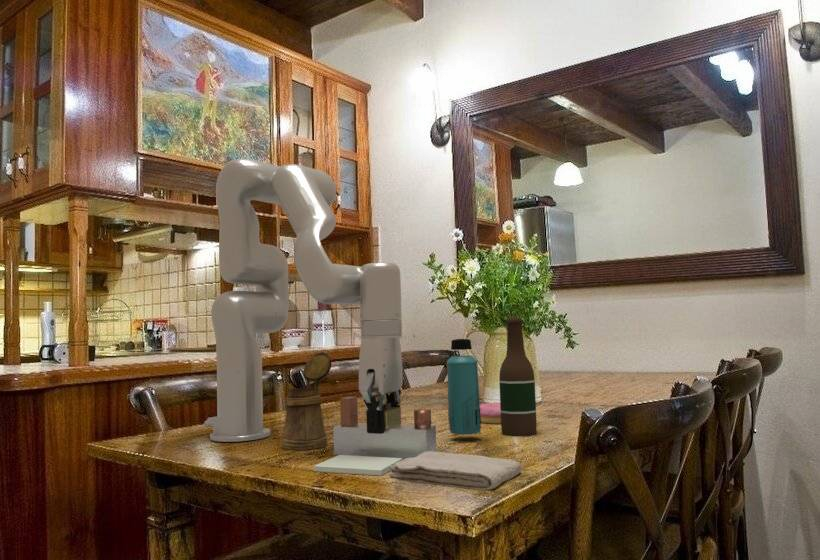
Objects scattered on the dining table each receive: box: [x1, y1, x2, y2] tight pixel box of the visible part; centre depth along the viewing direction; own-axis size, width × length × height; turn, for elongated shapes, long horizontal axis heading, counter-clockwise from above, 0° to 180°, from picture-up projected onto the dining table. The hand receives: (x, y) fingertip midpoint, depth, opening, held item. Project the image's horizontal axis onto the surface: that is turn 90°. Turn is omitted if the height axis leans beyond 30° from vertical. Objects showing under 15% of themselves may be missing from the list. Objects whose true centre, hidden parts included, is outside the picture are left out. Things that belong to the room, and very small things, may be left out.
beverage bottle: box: [446, 338, 482, 435], centre depth 127 cm, size 6×7×20 cm
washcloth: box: [388, 451, 522, 491], centre depth 96 cm, size 12×18×3 cm, turn 59°
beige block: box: [365, 402, 402, 429], centre depth 114 cm, size 4×6×4 cm, turn 158°
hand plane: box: [332, 396, 437, 459], centre depth 114 cm, size 18×5×10 cm, turn 68°
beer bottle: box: [499, 316, 538, 437], centre depth 132 cm, size 8×8×24 cm
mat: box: [312, 455, 404, 476], centre depth 104 cm, size 12×9×1 cm
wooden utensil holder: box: [281, 351, 333, 451], centre depth 127 cm, size 9×14×18 cm, turn 162°
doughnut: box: [480, 401, 501, 425], centre depth 148 cm, size 11×11×4 cm
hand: (384, 428), depth 114 cm, fingers closed on beige block, 6 cm apart
